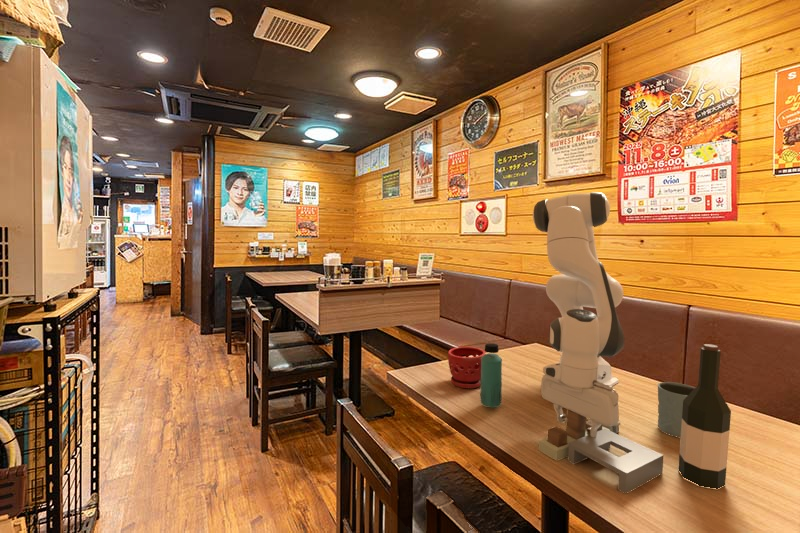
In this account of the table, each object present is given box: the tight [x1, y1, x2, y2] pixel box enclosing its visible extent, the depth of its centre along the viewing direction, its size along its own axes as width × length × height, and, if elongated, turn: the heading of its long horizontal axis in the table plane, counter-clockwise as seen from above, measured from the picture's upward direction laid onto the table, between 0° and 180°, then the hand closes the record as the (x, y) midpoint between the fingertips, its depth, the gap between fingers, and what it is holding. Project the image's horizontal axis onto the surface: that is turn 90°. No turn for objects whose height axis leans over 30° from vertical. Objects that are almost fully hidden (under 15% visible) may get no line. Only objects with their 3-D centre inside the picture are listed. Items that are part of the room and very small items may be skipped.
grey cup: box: [657, 381, 696, 438], centre depth 111 cm, size 10×10×12 cm
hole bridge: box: [567, 429, 664, 494], centre depth 93 cm, size 14×14×4 cm
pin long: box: [565, 409, 587, 440], centre depth 103 cm, size 3×3×9 cm
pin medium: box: [547, 426, 568, 448], centre depth 100 cm, size 3×3×6 cm
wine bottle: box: [678, 343, 732, 490], centre depth 88 cm, size 8×8×30 cm
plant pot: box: [447, 346, 486, 390], centre depth 144 cm, size 13×13×12 cm
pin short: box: [586, 419, 602, 432], centre depth 107 cm, size 3×3×4 cm
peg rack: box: [538, 426, 610, 462], centre depth 103 cm, size 21×5×2 cm, turn 120°
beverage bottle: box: [479, 342, 503, 408], centre depth 124 cm, size 6×7×20 cm
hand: (576, 428), depth 103 cm, fingers open, 7 cm apart
